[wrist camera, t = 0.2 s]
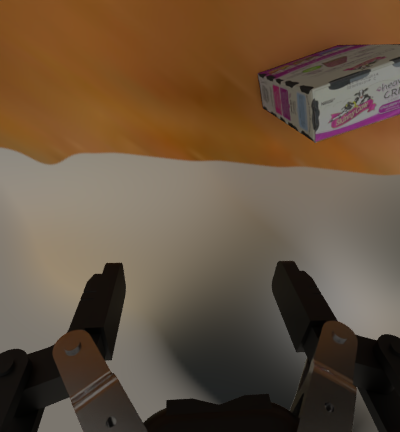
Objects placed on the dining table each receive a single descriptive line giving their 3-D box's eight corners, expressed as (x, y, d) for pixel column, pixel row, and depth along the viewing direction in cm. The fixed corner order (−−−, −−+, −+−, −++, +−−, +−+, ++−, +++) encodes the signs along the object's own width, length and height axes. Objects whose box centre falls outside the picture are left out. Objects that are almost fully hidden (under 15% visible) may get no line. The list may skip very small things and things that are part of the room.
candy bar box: (262, 110, 37) (312, 146, 24) (256, 73, 35) (308, 88, 21) (340, 84, 36) (440, 104, 23) (339, 43, 34) (453, 38, 20)
